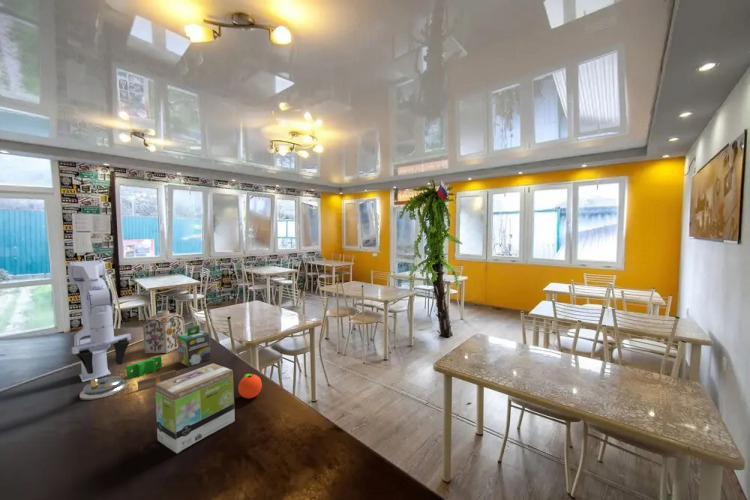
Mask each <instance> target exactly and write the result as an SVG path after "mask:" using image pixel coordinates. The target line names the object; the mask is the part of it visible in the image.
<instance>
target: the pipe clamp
mask: <svg viewBox="0 0 750 500" xmlns="http://www.w3.org/2000/svg"><path fill="white" fill-rule="evenodd" d="M162 363H163V362H162V356H161V355H159V356H154V357H151V358H149V359H145V360H142V361H139V362H136V363H133V364H129V365H127V366H126V367H125V370H126V371H125V372H126V379H130V378H134V377H136V376H138V377H144V375H145V374H147V373H152V372H153V373H156V372H157V369H160V368H162V366H163V365H162Z"/></svg>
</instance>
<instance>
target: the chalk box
mask: <svg viewBox="0 0 750 500" xmlns="http://www.w3.org/2000/svg"><path fill="white" fill-rule="evenodd" d="M194 329H195V330H194ZM192 330H193V331H192ZM177 341H178V350H177V352H178V358H179V359H178V361H179V363H180V364H183V366H186V367H188V368H190V367H193V366H196V365H198V364H202V363H204V362H207V361H211V360H212V357H211V354H212V353H211V342H210V332H208V331H204V330H201V326H200V325H194V326H190V327H188V328H187V332H185V334H182V335H179V336H177Z"/></svg>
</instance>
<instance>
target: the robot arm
mask: <svg viewBox="0 0 750 500" xmlns="http://www.w3.org/2000/svg"><path fill="white" fill-rule="evenodd" d="M106 269H107V268H106V262H105V261H104V260H103V259H98V260H84V261H69V262H68V264H67V272H68V279H69V282H70V284H71V285H75V286H77V287H78V289H79V295H80V306H81V317H82V326H83V327H82V329H80V330H79V331H78V332H76V333H75V334H74V337H73V345H74V346H72V347H71V354H73V355H75V356H76V357H77V358H78V359H79V360H80V364H81V373H80V374H79V378H80V379H81V382H82V383H85V382H87V381H91V380H92V379H95V378H97V379H100V378H104V377H107V376H109V375H111V374H112V372H110V369H108V357H107V351H108V349H110V347H111V345H113V347H114V352H115V362H116V364H117V365H120V366H121V365H122V364H123V361H124V356H125V353H126V350H127V349H128V346H129V345H130V340H132V336H131V335H132V334H131V333H125V334H119V335H115V330H114V329H115V328H114V322H113V321H114V320H113V318H114V317H113V308H112V306H113V305H114V294H113V291H112V289H111V287H108V286H107V284H106V281H105V279H104V278H105V276H106V272H107V271H106Z"/></svg>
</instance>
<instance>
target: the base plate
mask: <svg viewBox="0 0 750 500" xmlns="http://www.w3.org/2000/svg"><path fill="white" fill-rule="evenodd" d="M127 386H128V383H127V380H124V379H123V383H122V384H121V385H120V386H118V387H116V388H114V389H112V390H109V391H106V392H103V393H98V394H91V395H87V394H84V390H83V389H82V391H81V392H79V399H80V400H81V401H92V400H99V399H102V398H106V397H108V396H111V395H114V394H116V393H119V392H121V391H122V390H124V389H125V388H126V387H127Z"/></svg>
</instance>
